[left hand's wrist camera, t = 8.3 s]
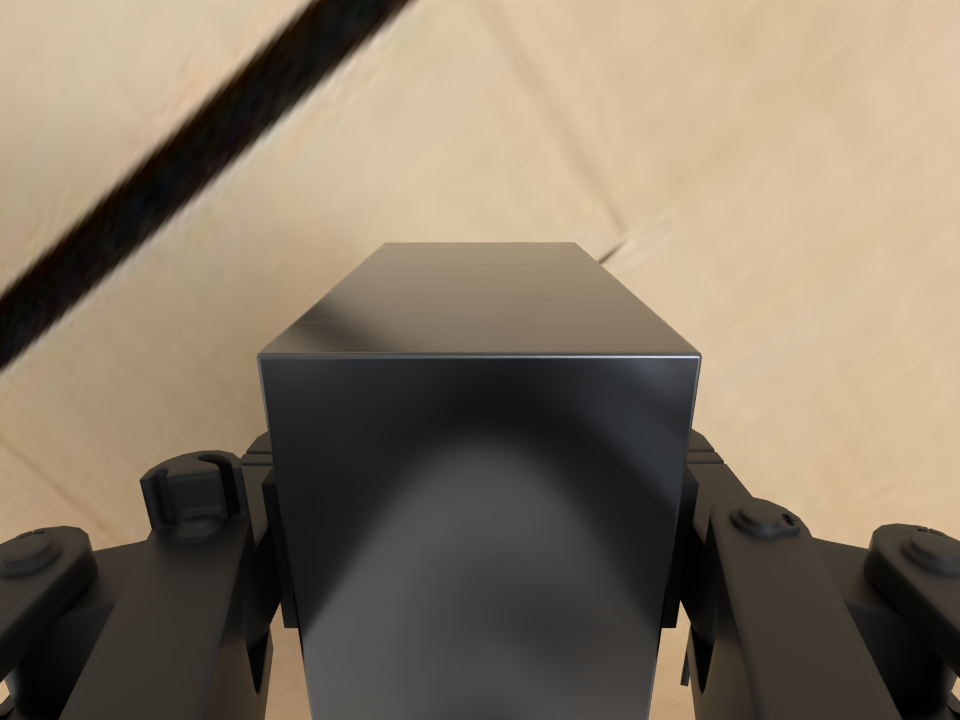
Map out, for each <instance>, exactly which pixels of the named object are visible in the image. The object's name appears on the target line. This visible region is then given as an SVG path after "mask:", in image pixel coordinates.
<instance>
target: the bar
mask: <svg viewBox="0 0 960 720" xmlns="http://www.w3.org/2000/svg"><path fill="white" fill-rule="evenodd" d="M701 360H702V356H701V353H700V352H699V351H698V350H697V349H695V348H694V347H693V346H692V345H691V344H690V343H689V342H688V341H686V340H685V339H684V338H683V337H682V336H681V335H680V334H678V333H677V332H676V331H675V330H674V329H673V328H672V327H670V326H669V325H668V324H667V323H666V322H665V321H664V320H663V319H661V318H660V317H659V316H658V315H657V314H656V313H655V312H653V311H652V310H651V309H650V308H649V307H648V306H647V305H646V304H644V303H643V302H642V301H641V300H640V299H639V298H638V297H636V296H635V295H634V294H633V293H632V292H631V291H630V290H628V289H627V288H626V287H625V286H624V285H623V284H622V283H621V282H619V281H618V280H617V279H616V278H615V277H614V276H613V275H611V274H610V273H609V272H608V271H607V270H606V269H605V268H603V267H602V266H601V265H600V264H599V263H598V262H597V261H596V260H594V259H593V258H592V257H591V256H590V255H589V254H588V253H586V252H585V251H584V250H583V249H582V248H581V247H580V246H578V245H577V244H576V243H574V242H504V243H384V244H383V245H382V246H381V247H380V248H379V249H377V250H376V251H375V252H374V253H373V254H372V255H371V256H369V257H368V258H367V259H366V260H365V261H364V262H363V263H361V264H360V265H359V266H358V267H357V268H356V269H354V270H353V271H352V272H351V273H350V274H349V275H348V276H346V277H345V278H344V279H343V280H342V281H341V282H340V283H338V284H337V285H336V286H335V287H334V288H333V289H332V290H330V291H329V292H328V293H327V294H326V295H325V296H324V297H322V298H321V299H320V300H319V301H318V302H317V303H315V304H314V305H313V306H312V307H311V308H310V309H309V310H307V311H306V312H305V313H304V314H303V315H302V316H301V317H299V318H298V319H297V320H296V321H295V322H294V323H293V324H291V325H290V326H289V327H288V328H287V329H286V330H285V331H283V332H282V333H281V334H280V335H279V336H278V337H276V338H275V339H274V340H273V341H272V342H271V343H270V344H268V345H267V346H266V347H265V348H264V349H263V350H262V351H260V352H259V353H258V355H257V362H258V369H259V375H260V382H261V388H262V395H263V402H264V408H265V415H266V421H267V428H268V434H269V441H270V447H271V454H272V461H273V467H274V474H275V480H276V487H277V493H278V500H279V506H280V513H281V519H282V526H283V533H284V539H285V546H286V552H287V559H288V565H289V572H290V578H291V585H292V592H293V598H294V605H295V611H296V618H297V624H298V631H299V637H300V644H301V651H302V657H303V664H304V670H305V677H306V683H307V690H308V696H309V703H310V709H311V716H312V720H648V718H649V711H650V704H651V698H652V691H653V684H654V677H655V671H656V664H657V657H658V650H659V644H660V637H661V630H662V623H663V617H664V610H665V603H666V596H667V590H668V583H669V576H670V569H671V563H672V556H673V549H674V542H675V535H676V529H677V522H678V515H679V508H680V502H681V495H682V488H683V481H684V475H685V468H686V461H687V454H688V448H689V441H690V434H691V427H692V421H693V414H694V407H695V400H696V394H697V387H698V380H699V373H700V367H701Z"/></svg>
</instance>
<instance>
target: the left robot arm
mask: <svg viewBox="0 0 960 720" xmlns="http://www.w3.org/2000/svg"><path fill="white" fill-rule="evenodd" d="M140 484H141V488H142V492H143V496H144V500H145V504H146V508H147V512H148V516H149V520H150V524H151V528H152V530H151V532H150V534H149V536H148V539H147V540H145V541H141V542H137V543H133V544H128V545H123V546H118V547H113V548H108V549H102V550H97V551H93V549H92V546H91V543H90V540H89V536H88V534H87V533H86V532H84V531H83V530H82V529H80V528H76V527H69V526H59V527H50V528H42V529H37V530H34V531H33V532H32V531H29V532H26V533H23V534H21V535H18V536H17V537H16V538H13V539H11V540H9V541H7V542H4V543H2V544H0V683H1V682H2V681H3V680H5V683H6V685H7V687H8V690H9V692H10V695H9V696H8V697H7V698H6V699H5V700H4V702H3V703H2V704H1V705H0V720H265V712H266V704H267V696H268V687H269V679H270V671H271V663H272V655H273V643H272V636H271V631H270V624H271V621H272V619H273V617H274V615H275V613H276V610H277V608H278V606H279V604H280V603H281V609H282V615H283V621H284V627H285V628H298V624H297V618H296V611H295V605H294V598H293V592H292V585H291V578H290V572H289V565H288V559H287V552H286V546H285V539H284V533H283V526H282V519H281V513H280V506H279V500H278V493H277V487H276V480H275V474H274V467H273V461H272V454H271V447H270V441H269V434H268V431H267V432H266V433H264V434H262V435H261V436H259V437H257V439H256V440H255V441H254V442H253V444H252V445H251V446H250V447H249V449H248V450H247V451H246V454H244V455H243V456H242V457H241V459H239V458H238V457H237V456H235V455H234V454H233V453H229V452H224V451H219V450H217V451H199V452H193V453H188V454H183V455H180V456H177V457H175V458H172V459H169V460H166V461H164V462H162V463H160V464H159V465H157V466H155V467H154V468H152V469H150V470H149V471H148V472H147V473H146V474H145V475H144V476H143V477H142V478H141V479H140ZM680 600H681V602H682V604H683V607H684V609H685V611H686V613H687V615H688V618H689V620H690V622H691V625H690V631H689V636H688V642H687V648H686V654H685V659H684V665H683V671H682V677H681V684H680V685H684V686H688V683H689V678H691V686H692V694H693V702H694V710H695V718H696V720H960V701H959V700H958V699H957V698H956V697H955V695H954V694H953V693H952V692H951V691H952V689H953V686H954V684H955V682H956V679H957V677H959V678H960V541H958V540H956V539H954V538H952V537H949V536H947V535H945V534H944V533H942V532H940V531H937V530H934V529H927V527H922V526H917V525H906V524H897V523H896V524H889V525H882V526H880V527H879V528H878V529H876V530H875V531H874V532H873V535H872V538H871V541H870V545H869V548H868V549H865V548H860V547H855V546H850V545H845V544H840V543H835V542H830V541H825V540H821V539H817V538H813V537H812V536H811V533H810V531H809V529H808V528H807V527H806V525H805V524H804V523H803V522H802V521H801V519H800V518H799V517H797V516H796V515H794V514H793V513H792V512H790V511H789V510H787V509H786V508H784V507H781V506H779V505H777V504H774V503H772V502H770V501H767V500H763V499H758V498H754V497H752V496H751V494H750V493H749V492H748V491H747V489H746V488H745V487H744V486H743V484H742V483H741V482H740V481H739V479H738V478H737V477H736V476H735V474H734V473H733V472H732V471H731V469H730V468H729V467H728V466H727V465H726V464H724V461H723V460H722V458H721V457H720V456H719V455H718V453H717V452H715V451H714V448H713V447H712V446H711V445H710V443H709V442H708V441H707V440H706V438H705V437H704V436H703V435H701V434H700V433H698V432H696V431H695V430H693V429H692V428H691V434H690V441H689V448H688V454H687V461H686V468H685V475H684V481H683V488H682V495H681V502H680V508H679V515H678V522H677V529H676V535H675V542H674V549H673V556H672V563H671V569H670V576H669V583H668V590H667V596H666V603H665V610H664V617H663V623H662V628H676V624H677V618H678V611H679V605H680Z"/></svg>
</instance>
